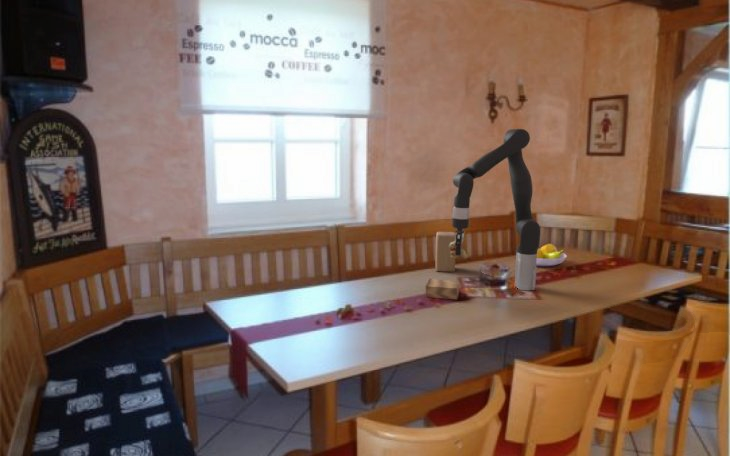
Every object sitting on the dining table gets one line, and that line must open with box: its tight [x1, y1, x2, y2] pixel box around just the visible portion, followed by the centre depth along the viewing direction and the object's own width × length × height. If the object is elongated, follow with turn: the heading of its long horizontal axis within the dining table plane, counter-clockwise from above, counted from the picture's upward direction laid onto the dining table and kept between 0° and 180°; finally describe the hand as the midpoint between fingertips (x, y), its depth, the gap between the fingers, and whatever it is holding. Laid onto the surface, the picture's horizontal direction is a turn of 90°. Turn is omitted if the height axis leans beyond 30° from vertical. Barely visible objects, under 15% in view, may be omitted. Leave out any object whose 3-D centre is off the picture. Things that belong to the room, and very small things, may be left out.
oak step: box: [425, 277, 460, 300], centre depth 239 cm, size 14×12×5 cm
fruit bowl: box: [536, 243, 568, 267], centre depth 295 cm, size 28×27×11 cm
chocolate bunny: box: [449, 241, 469, 260], centre depth 240 cm, size 6×8×10 cm
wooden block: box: [435, 231, 456, 273], centre depth 281 cm, size 10×10×20 cm
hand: (458, 253), depth 240 cm, fingers closed on chocolate bunny, 4 cm apart
